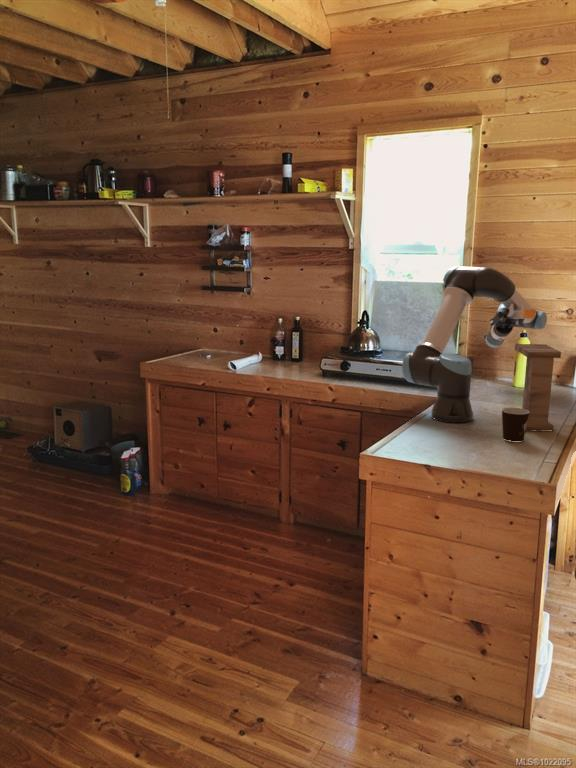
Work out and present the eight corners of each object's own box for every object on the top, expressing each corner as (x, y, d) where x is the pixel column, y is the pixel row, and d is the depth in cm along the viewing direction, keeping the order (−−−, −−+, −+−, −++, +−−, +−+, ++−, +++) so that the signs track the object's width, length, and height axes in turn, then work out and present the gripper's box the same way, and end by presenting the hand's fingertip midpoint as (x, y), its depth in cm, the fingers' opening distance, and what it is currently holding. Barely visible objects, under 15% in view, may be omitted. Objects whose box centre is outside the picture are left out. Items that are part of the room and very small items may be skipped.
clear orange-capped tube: (534, 318, 239) (535, 309, 239) (524, 317, 239) (525, 309, 239) (515, 318, 265) (515, 311, 265) (506, 318, 265) (506, 310, 265)
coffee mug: (513, 445, 213) (515, 415, 210) (494, 438, 220) (496, 409, 218) (539, 440, 218) (541, 411, 216) (519, 433, 225) (521, 405, 223)
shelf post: (553, 431, 228) (561, 352, 221) (521, 430, 228) (527, 351, 222) (539, 418, 243) (546, 344, 237) (509, 418, 244) (515, 344, 238)
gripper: (521, 337, 277) (539, 316, 255) (483, 336, 278) (496, 316, 256) (520, 320, 279) (537, 298, 257) (482, 320, 280) (495, 298, 258)
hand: (517, 307), depth 256 cm, fingers closed on clear orange-capped tube, 3 cm apart
